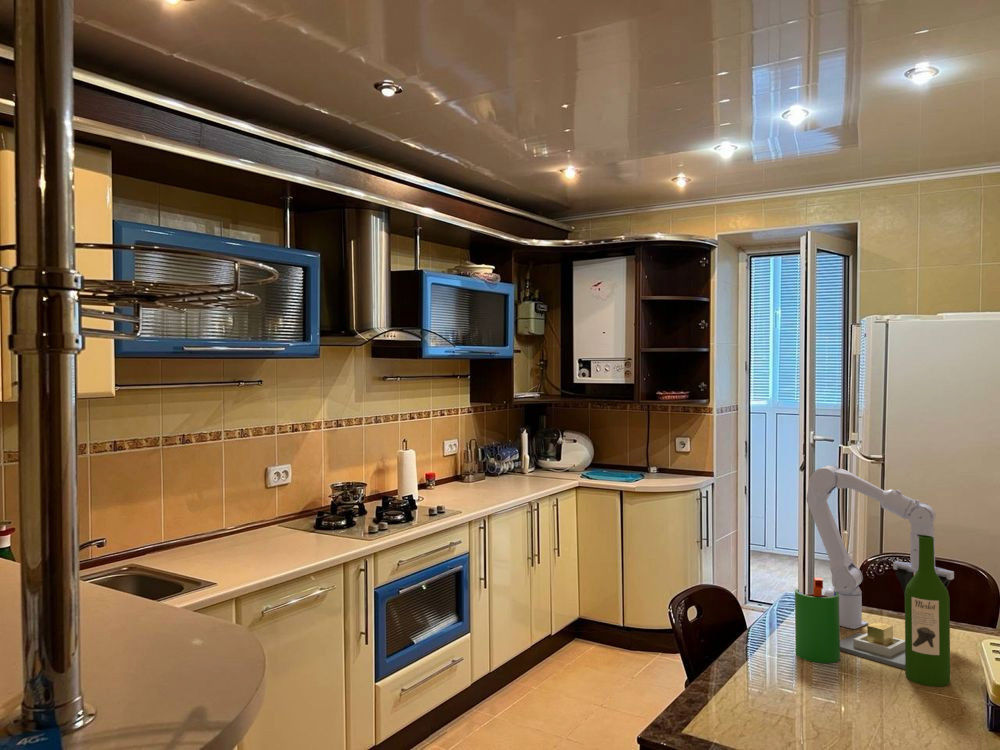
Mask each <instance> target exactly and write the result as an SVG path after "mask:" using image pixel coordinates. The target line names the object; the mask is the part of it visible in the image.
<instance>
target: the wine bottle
mask: <svg viewBox="0 0 1000 750" xmlns="http://www.w3.org/2000/svg"><path fill="white" fill-rule="evenodd" d="M950 603H951V602H950V594H949V590H948V589H947V588H946V587H945V586H944V584H943V583H942V581H941V580H940V578H939V577H938V575H937V574H936V572H935V569H934V537H932V536H919V568H918V571H917V572H916V573H914V574H913V575H912V579H911V580H910V582H909V583H908V584H907V586H906V589H905V595H904V638H905V639H904V640H905V669H904V670H905V675H906V679H908V680H909V681H911V682H913V683H916V684H918V685H922V686H926V685H927V686H926V687H933V686H935V688H936V687H937V688H941V686H943V687H946V686H948V684H949V685H950V682H951V631H950V630H951V619H950V617H951V616H950V613H951V612H950V611H951V610H950V606H951V605H950Z"/></svg>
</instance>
